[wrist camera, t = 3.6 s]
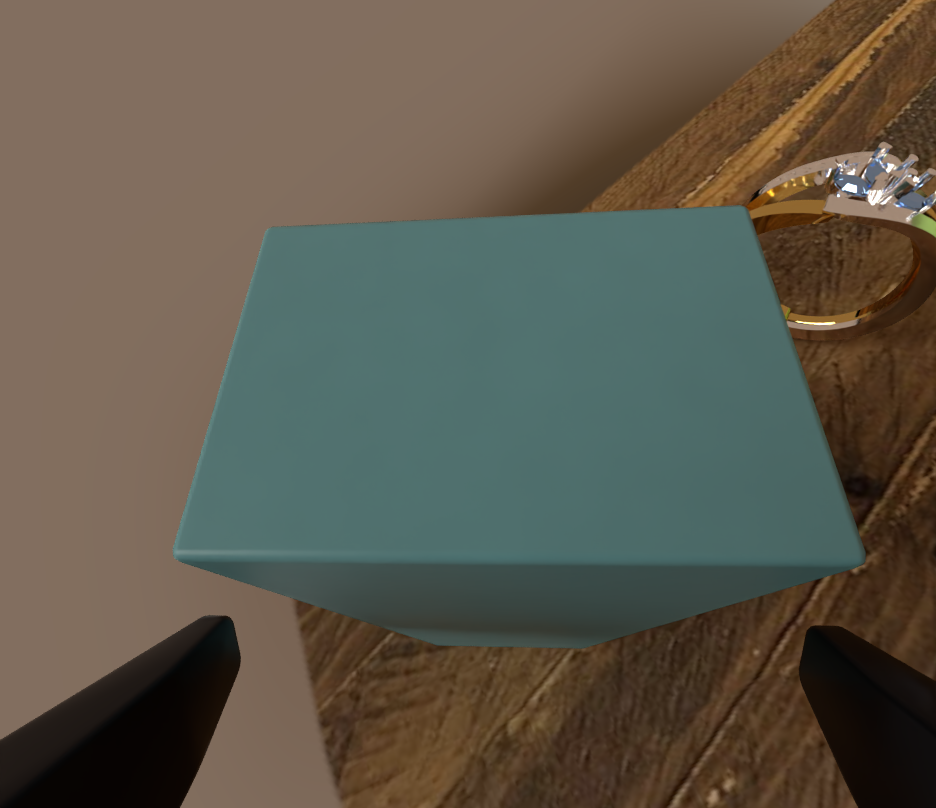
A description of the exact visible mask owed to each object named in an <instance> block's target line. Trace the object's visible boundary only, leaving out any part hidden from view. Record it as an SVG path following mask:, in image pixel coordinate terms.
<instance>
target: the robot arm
mask: <svg viewBox="0 0 936 808" xmlns="http://www.w3.org/2000/svg"><path fill="white" fill-rule="evenodd" d="M240 659H241V656H240V650H239V646H238V642H237V637H236V632H235V628H234V623H233V621H232V620H231V618H230V617H228V616H215V615H209V616H204V617H201V618H200V619H198V620H196V621H195V622H193V623H191V624H190V625H188V626H187V627H185V628H183V629H181V630H180V631H178V632H177V633H175V634H173V635H172V636H170V637H168V638H167V639H165V640H163V641H162V642H160V643H159V644H157V645H155V646H154V647H152V648H150V649H149V650H147V651H145V652H144V653H142V654H140V655H139V656H137V657H136V658H134V659H132V660H131V661H129V662H127V663H126V664H124V665H122V666H121V667H119V668H118V669H116V670H114V671H113V672H111V673H109V674H108V675H106V676H105V677H103V678H101V679H100V680H98V681H96V682H95V683H93V684H91V685H90V686H88V687H86V688H85V689H83V690H81V691H80V692H78V693H76V694H75V695H73V696H72V697H70V698H68V699H67V700H65V701H63V702H62V703H60V704H59V705H57V706H55V707H54V708H52V709H51V710H49V711H47V712H45V713H44V714H42V715H41V716H39V717H37V718H35V719H34V720H33V721H31V722H29V723H27V724H26V725H24V726H22V727H21V728H19V729H18V730H16V731H14V732H13V733H11V734H9V735H8V736H6V737H4V738H3V739H1V740H0V808H180V806H181V805H182V803H183V801H184V798H185V797H186V795H187V793H188V791H189V789H190V786H191V785H192V782H193V780H194V778H195V776H196V774H197V772H198V770H199V768H200V765H201V763H202V761H203V758H204V756H205V753H206V751H207V748H208V746H209V744H210V741H211V739H212V736H213V734H214V731H215V729H216V726H217V724H218V721H219V719H220V716H221V714H222V711H223V709H224V706H225V704H226V702H227V699H228V696H229V694H230V692H231V689H232V687H233V684H234V682H235V679H236V677H237V674H238V671H239V668H240V662H241V660H240ZM799 676H800V681H801V684H802V687H803V689H804V692H805V694H806V696H807V698H808V700H809V703H810V705H811V707H812V709H813V711H814V714H815V716H816V718H817V720H818V723H819V725H820V727H821V729H822V731H823V734H824V736H825V738H826V740H827V742H828V745H829V747H830V749H831V751H832V753H833V756H834V758H835V760H836V762H837V764H838V767H839V769H840V771H841V773H842V775H843V778H844V780H845V782H846V784H847V786H848V788H849V790H850V792H851V794H852V796H853V798H854V800H855V802H856V804H857V806H858V808H936V681H934V680H932V679H931V678H929V677H927V676H925V675H924V674H922V673H920V672H919V671H917V670H915V669H913V668H912V667H910V666H908V665H907V664H905V663H903V662H901V661H900V660H898V659H896V658H894V657H893V656H891V655H889V654H888V653H886V652H884V651H882V650H881V649H879V648H877V647H876V646H874V645H872V644H870V643H869V642H867V641H865V640H864V639H862V638H860V637H858V636H857V635H855V634H853V633H852V632H850V631H848V630H846V629H844V628H843V627H839V626H817V625H815V626H811V627H810V628H809V629H808V630H807V632H806V635H805V640H804V646H803V651H802V656H801V661H800V666H799Z"/></svg>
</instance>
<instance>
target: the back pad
mask: <svg viewBox="0 0 936 808" xmlns="http://www.w3.org/2000/svg"><path fill="white" fill-rule="evenodd" d="M173 556H174V558H175V559H176V560H178V561H180V562H182V563H185V564H188V565H191V566H194V567H198V568H201V569H204V570H207V571H210V572H213V573H216V574H219V575H222V576H225V577H229V578H231V579H235V580H238V581H241V582H244V583H247V584H250V585H253V586H256V587H260V588H262V589H266V590H269V591H272V592H275V593H278V594H281V595H284V596H287V597H290V598H293V599H296V600H299V601H302V602H305V603H309V604H312V605H315V606H318V607H321V608H324V609H327V610H330V611H333V612H336V613H339V614H342V615H346V616H349V617H352V618H355V619H358V620H361V621H364V622H367V623H370V624H373V625H376V626H379V627H383V628H386V629H389V630H392V631H395V632H398V633H401V634H404V635H407V636H410V637H413V638H417V639H420V640H423V641H426V642H429V643H432V644H435V645H445V646H492V647H539V648H586V647H589V646H593V645H596V644H600V643H603V642H606V641H610V640H613V639H616V638H620V637H623V636H627V635H630V634H633V633H637V632H640V631H644V630H647V629H650V628H654V627H657V626H661V625H664V624H667V623H671V622H674V621H678V620H681V619H684V618H688V617H691V616H694V615H698V614H701V613H705V612H708V611H711V610H715V609H718V608H722V607H725V606H728V605H732V604H735V603H739V602H742V601H745V600H749V599H752V598H756V597H759V596H762V595H766V594H769V593H772V592H776V591H779V590H783V589H786V588H789V587H793V586H796V585H800V584H803V583H806V582H810V581H813V580H817V579H820V578H823V577H827V576H830V575H833V574H837V573H840V572H844V571H847V570H850V569H854V568H856V567H858V566H861V565H863V564H864V562H865V558H866V553H865V550H864V547H863V544H862V541H861V538H860V535H859V532H858V529H857V526H856V523H855V520H854V518H853V515H852V512H851V509H850V506H849V503H848V500H847V497H846V494H845V491H844V488H843V485H842V482H841V479H840V477H839V474H838V471H837V468H836V465H835V462H834V459H833V456H832V453H831V450H830V447H829V444H828V441H827V439H826V436H825V433H824V430H823V427H822V424H821V421H820V418H819V415H818V412H817V409H816V406H815V403H814V400H813V398H812V395H811V392H810V389H809V386H808V383H807V380H806V377H805V374H804V371H803V368H802V365H801V362H800V360H799V357H798V354H797V351H796V348H795V345H794V342H793V339H792V336H791V333H790V330H789V327H788V324H787V321H786V319H785V316H784V313H783V310H782V307H781V304H780V301H779V298H778V295H777V292H776V289H775V286H774V283H773V281H772V278H771V275H770V272H769V269H768V266H767V263H766V260H765V257H764V254H763V251H762V248H761V245H760V242H759V240H758V237H757V234H756V231H755V228H754V225H753V222H752V219H751V216H750V213H749V210H748V209H747V208H746V207H744V206H741V205H737V206H716V207H694V208H672V209H651V210H629V211H607V212H585V213H565V214H543V215H522V216H521V215H520V216H499V217H477V218H456V219H436V220H435V219H434V220H412V221H392V222H391V221H390V222H368V223H347V224H328V225H327V224H325V225H305V226H281V227H271V228H269V229H268V230H266V232H265V235H264V239H263V242H262V245H261V249H260V252H259V256H258V259H257V263H256V266H255V269H254V273H253V276H252V280H251V283H250V286H249V290H248V294H247V297H246V300H245V304H244V307H243V310H242V314H241V317H240V321H239V324H238V327H237V331H236V334H235V338H234V341H233V345H232V348H231V352H230V355H229V359H228V362H227V365H226V369H225V372H224V375H223V379H222V382H221V386H220V389H219V393H218V396H217V399H216V403H215V406H214V410H213V413H212V417H211V420H210V423H209V427H208V430H207V434H206V437H205V441H204V444H203V447H202V451H201V454H200V458H199V461H198V465H197V468H196V472H195V475H194V478H193V482H192V485H191V489H190V492H189V495H188V499H187V502H186V506H185V509H184V512H183V516H182V519H181V523H180V526H179V530H178V533H177V536H176V540H175V543H174V547H173Z"/></svg>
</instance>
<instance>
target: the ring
mask: <svg viewBox="0 0 936 808" xmlns="http://www.w3.org/2000/svg"><path fill="white" fill-rule="evenodd" d="M891 149H892V146H891V145H889V144H887V143H885V142H882V143H881V144H880V145H879V146H878V148H877V149H876V151H875V152H858V153H851V154H845V155H840V156H836V157H831V158H827V159H823V160H820V161H816V162H813V163H809V164H806V165H803V166H800V167H798V168H795V169H793V170H791V171H788V172H786V173H784V174H782V175H780V176H779V177H777V178H775V179H773V180H772V181H770V182H769V183H767V184H766V185H764V186H763V187H762V188H760V189H759V190H758V191H757V192H755V193H754V194H753V195H752V196H751V197H750V198H749V199H747V200H746V201H745V202H744V203H743V204H742V205H741V206H744V207H746V208H747V209H748V210H749V213H750V216H751V219H752V222H753V225H754V228H755V231H756V234H757V235H759V234H762V233H765V232H768V231H772V230H776V229H780V228H785V227H790V226H797V225H805V224H814V223H825V222H828V221H829V220H831V219H832V218H833V217H834V218H836V219H839V220H843V221H848V222H853V223H859V224H866V225H872V226H877V227H882V228H886V229H889V230H893V231H896V232H898V233H901V234H903V235H905V236H907V237H909V238H910V240H911V243H912V247H913V263H912V267H911V269H910V271H909V272H908V274H907V275H906V277H905V278H904V279H903V281H902V282H901V283H900V284H899V285H898V286H897V287H896V288H895V289H894V290H893V291H892V292H890V293H889V294H888V295H886V296H885V297H884V298H882V299H880V300H879V301H877V302H875V303H873V304H872V305H869V306H867V307H865V308H863V309H860V310H857V311H854V312H850V313H846V314H842V315H836V316H823V317H817V316H805V315H798V314H794V313H791V309H790V308H788V307H787V306H784V305H781V307H782V310H783V313H784V316H785V319H786V321H787V324H788V327H789V330H790V333H791V336H792V338H798V339H806V340H838V339H846V338H852V337H857V336H862V335H866V334H869V333H872V332H876V331H878V330H881V329H884V328H886V327H889V326H891V325H893V324H895V323H897V322H899V321H901V320H902V319H904V318H906V317H907V316H909V315H910V314H912V313H913V312H914V311H915V310H917V309H918V308H919V307H920V306H921V305H922V304H923V303H924V302H925V301H926V300H927V299H928V297H929V296H930V295H931V293H932V292H933V290H934V289H935V287H936V206H935V205H936V191H935V192H933V193H932V194H931V195H929V196H927V195H926V194H925V193H924V192H923V191H921V190H920V189H921V188H922V187H923V186H924V185H925V184H926V183H928V182H929V181H930V180H931V179H932V178H933V177H935V176H936V171H935V170H934V169H931V168H929V169H928V170H927V171H925V172H924V173H923V174H922V175H921V176H920V177H919V178H918V179H917V177H916V175H917V174H918V172H917V171H916V170H915V169H913V168H910V167H911V166H912V165H914V164H915V163H916V162H917V161H918V157H917V156H915V155H913V154H911V155H909V156H908V157H907V158H906V159H905V160H904V161H902V160H901V159H899V158H897V157H895V156H893V155H890V154H888V153H889V152H890V150H891ZM824 183H826V185H825V190H826V192H827V193H830V194H828V195H827V198H826V200H794V201H785V202H779V201H780V200H782V199H784V198H786V197H788V196H790V195H792V194H794V193H797V192H799V191H802V190H804V189H807V188H810V187H813V186H817V185H820V184H824ZM777 202H778V203H777Z"/></svg>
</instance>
